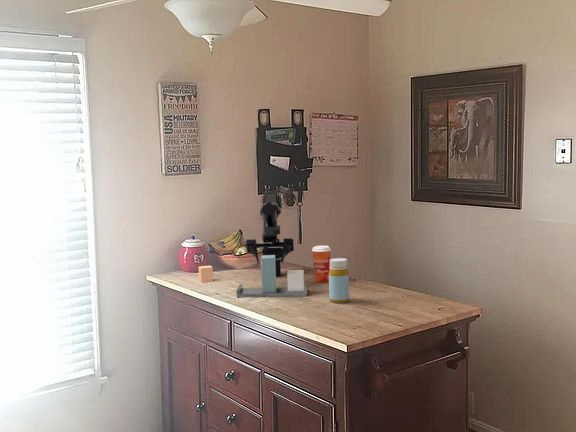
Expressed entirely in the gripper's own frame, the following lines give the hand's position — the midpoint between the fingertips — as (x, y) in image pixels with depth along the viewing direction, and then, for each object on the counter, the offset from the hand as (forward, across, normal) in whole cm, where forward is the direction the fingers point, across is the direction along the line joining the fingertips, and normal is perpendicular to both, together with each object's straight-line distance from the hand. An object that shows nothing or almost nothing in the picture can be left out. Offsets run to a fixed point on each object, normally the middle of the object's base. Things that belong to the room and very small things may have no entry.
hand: (269, 263), depth 268 cm
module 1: (-5, -28, +20) cm, 35 cm away
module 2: (+12, 0, +1) cm, 12 cm away
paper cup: (-1, +20, +16) cm, 26 cm away
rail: (+13, +1, +2) cm, 13 cm away
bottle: (+23, +26, -8) cm, 35 cm away
